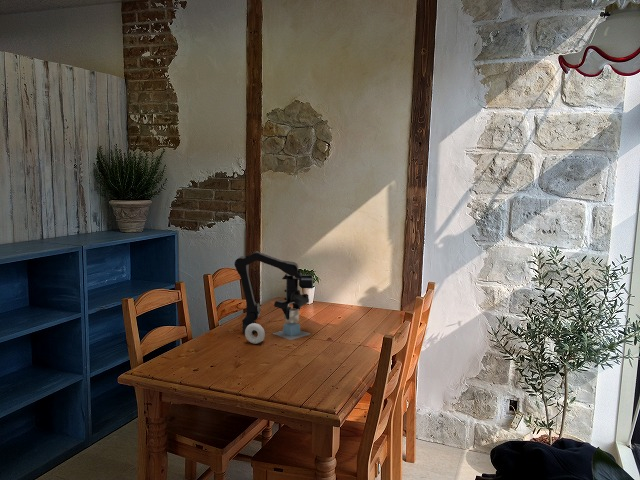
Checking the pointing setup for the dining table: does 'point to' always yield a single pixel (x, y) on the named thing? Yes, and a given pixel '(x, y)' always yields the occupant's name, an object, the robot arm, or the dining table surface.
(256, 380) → the dining table surface
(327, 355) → the dining table surface
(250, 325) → the donut
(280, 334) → the base mat
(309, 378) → the dining table surface
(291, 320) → the top brick
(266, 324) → the dining table surface
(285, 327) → the bottom brick
